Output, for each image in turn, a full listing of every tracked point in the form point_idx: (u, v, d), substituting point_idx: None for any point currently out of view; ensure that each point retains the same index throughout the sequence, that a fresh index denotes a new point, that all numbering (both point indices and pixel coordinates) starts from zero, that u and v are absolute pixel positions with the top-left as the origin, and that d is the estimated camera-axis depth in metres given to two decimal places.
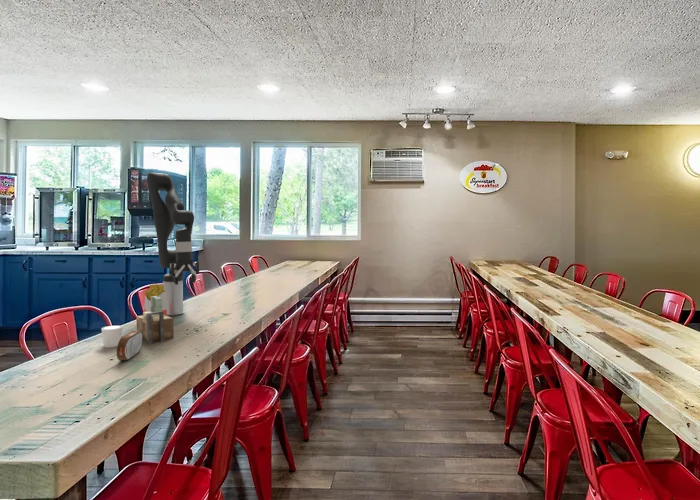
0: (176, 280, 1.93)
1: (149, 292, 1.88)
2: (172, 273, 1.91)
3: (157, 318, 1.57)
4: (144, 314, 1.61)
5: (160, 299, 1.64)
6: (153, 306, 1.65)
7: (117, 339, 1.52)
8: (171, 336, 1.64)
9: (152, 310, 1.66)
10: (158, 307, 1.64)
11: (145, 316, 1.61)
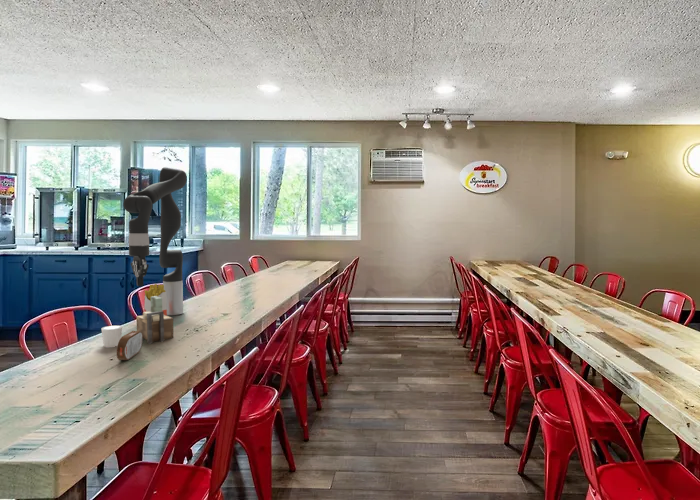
0: (142, 280, 1.66)
1: (149, 292, 1.88)
2: None
3: (157, 318, 1.57)
4: (144, 314, 1.61)
5: (160, 299, 1.64)
6: (153, 306, 1.65)
7: (117, 339, 1.52)
8: (171, 336, 1.64)
9: (152, 310, 1.66)
10: (158, 307, 1.64)
11: (145, 316, 1.61)
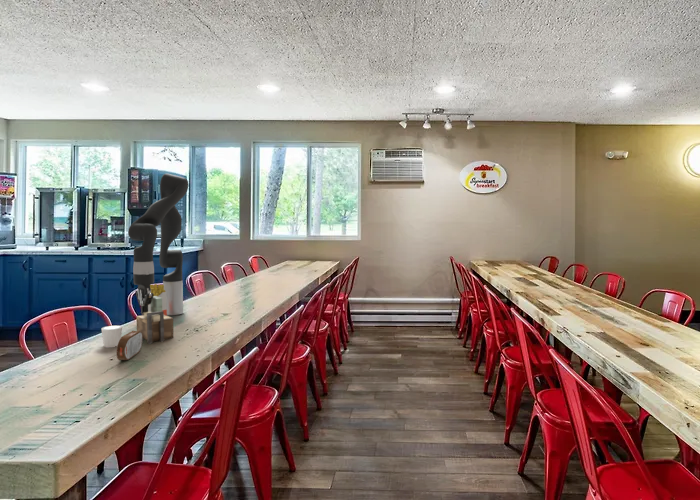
0: None
1: None
2: None
3: (158, 318, 1.57)
4: (145, 314, 1.61)
5: (160, 299, 1.64)
6: (153, 306, 1.65)
7: (117, 339, 1.52)
8: (171, 336, 1.64)
9: (152, 310, 1.66)
10: (158, 307, 1.64)
11: (146, 316, 1.60)
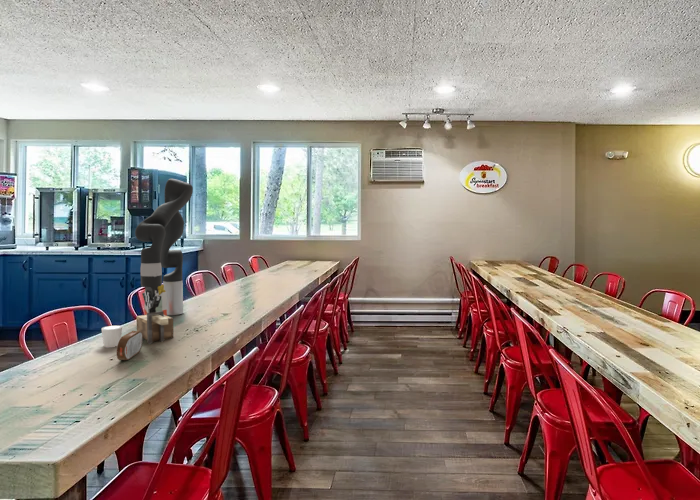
0: None
1: None
2: None
3: (166, 321, 1.52)
4: (152, 317, 1.56)
5: None
6: None
7: (117, 339, 1.52)
8: (171, 336, 1.64)
9: None
10: (158, 307, 1.64)
11: (153, 319, 1.55)
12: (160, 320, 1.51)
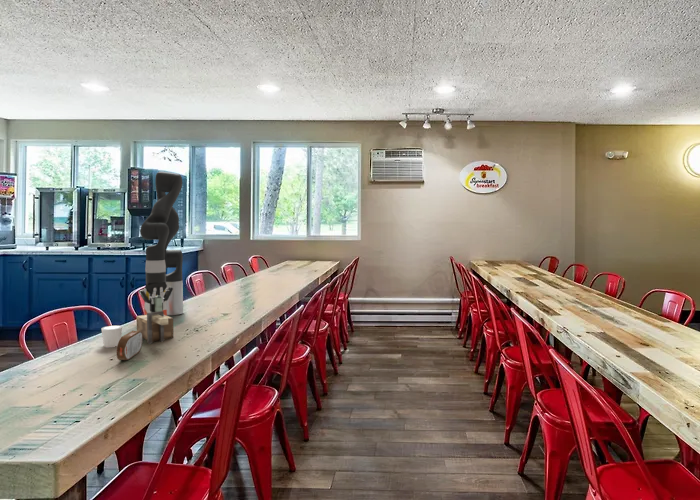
0: None
1: None
2: None
3: (166, 321, 1.52)
4: (152, 317, 1.56)
5: (160, 299, 1.64)
6: None
7: (117, 339, 1.52)
8: (171, 336, 1.64)
9: None
10: (158, 307, 1.64)
11: (153, 319, 1.55)
12: (160, 320, 1.51)
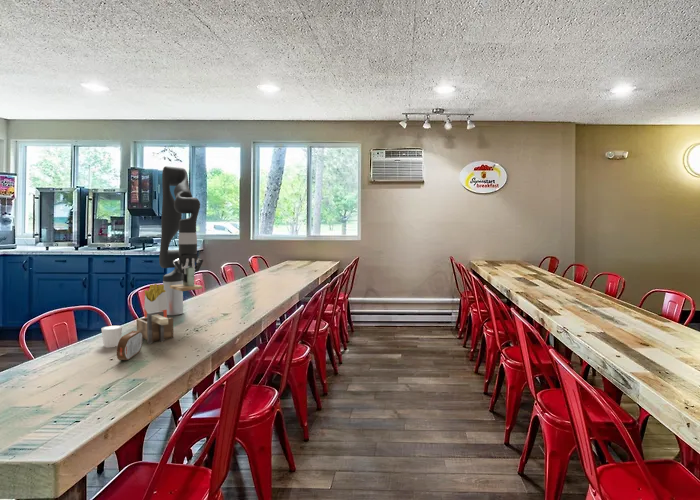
0: None
1: (149, 292, 1.88)
2: None
3: (166, 321, 1.52)
4: (152, 317, 1.56)
5: (192, 269, 1.74)
6: None
7: (117, 339, 1.52)
8: (171, 336, 1.64)
9: None
10: (191, 276, 1.74)
11: (153, 319, 1.55)
12: (160, 320, 1.51)
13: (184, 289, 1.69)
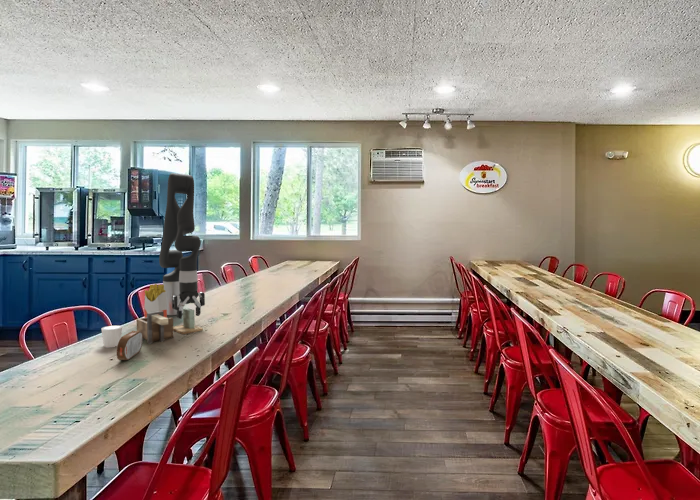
0: None
1: (149, 292, 1.88)
2: None
3: (166, 321, 1.52)
4: (152, 317, 1.56)
5: (192, 311, 1.75)
6: (186, 318, 1.76)
7: (117, 339, 1.52)
8: (171, 336, 1.64)
9: (185, 321, 1.77)
10: (191, 319, 1.75)
11: (153, 319, 1.55)
12: (160, 320, 1.51)
13: (185, 333, 1.70)
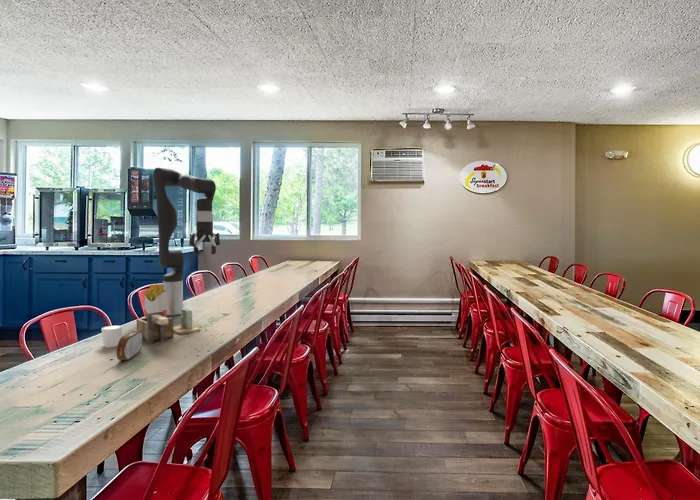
0: None
1: (149, 292, 1.88)
2: None
3: (166, 321, 1.52)
4: (152, 317, 1.56)
5: (190, 311, 1.75)
6: (184, 318, 1.75)
7: (117, 339, 1.52)
8: (171, 336, 1.64)
9: (182, 322, 1.77)
10: (189, 319, 1.74)
11: (153, 319, 1.55)
12: (160, 320, 1.51)
13: (182, 333, 1.69)
